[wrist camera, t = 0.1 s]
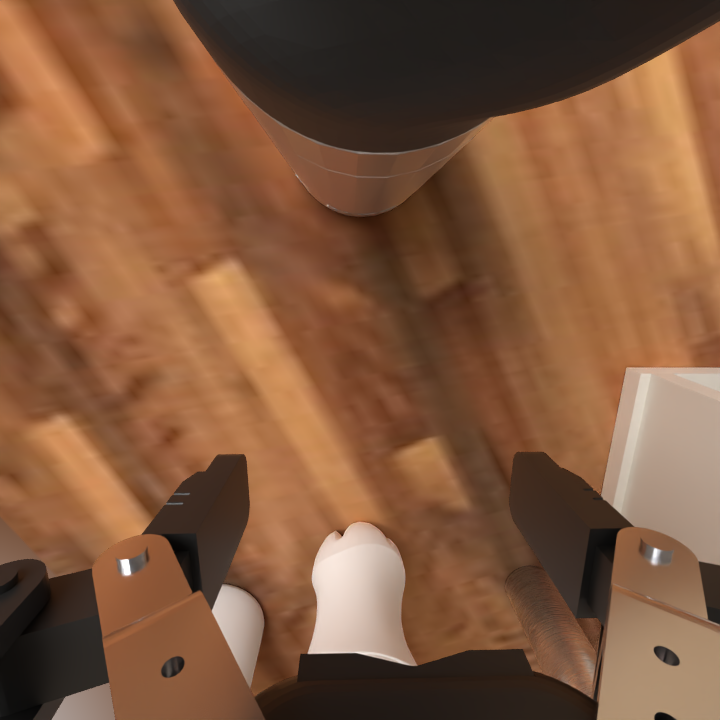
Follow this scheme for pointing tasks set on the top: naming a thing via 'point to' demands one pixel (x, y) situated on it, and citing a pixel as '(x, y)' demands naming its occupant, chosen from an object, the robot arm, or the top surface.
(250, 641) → the milk bottle
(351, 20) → the robot arm
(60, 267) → the top surface
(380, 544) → the water bottle
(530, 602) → the steel tube
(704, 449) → the tube holder
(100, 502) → the top surface
